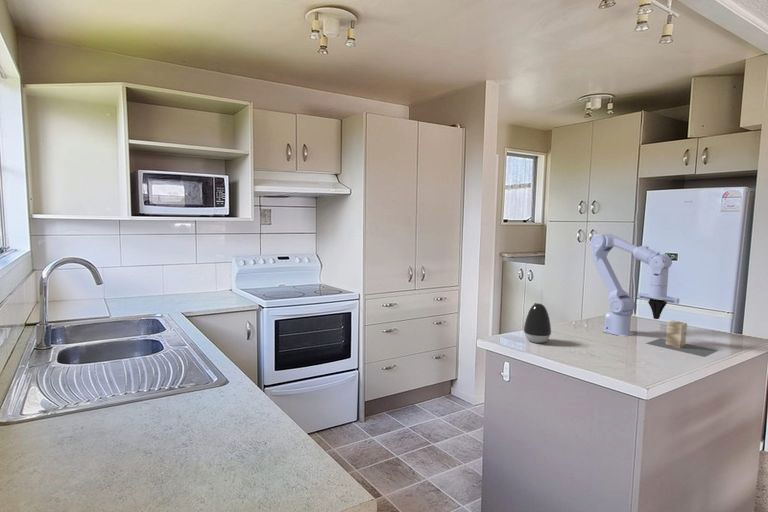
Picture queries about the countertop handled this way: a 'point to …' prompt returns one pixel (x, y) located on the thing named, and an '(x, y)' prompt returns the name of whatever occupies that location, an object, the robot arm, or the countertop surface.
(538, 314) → the black egg shape
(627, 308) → the robot arm
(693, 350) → the mat
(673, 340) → the block
